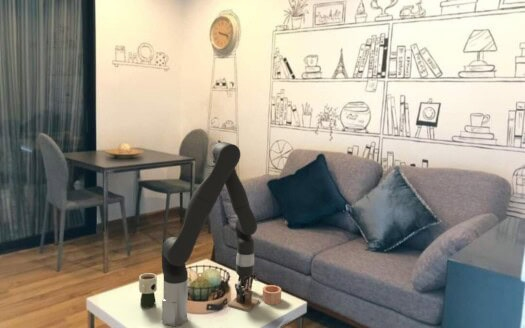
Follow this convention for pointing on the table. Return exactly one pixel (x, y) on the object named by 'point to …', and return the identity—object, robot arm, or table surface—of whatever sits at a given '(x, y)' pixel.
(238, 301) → the lid
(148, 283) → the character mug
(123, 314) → the table surface
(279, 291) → the bowl
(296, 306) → the table surface
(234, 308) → the mat
